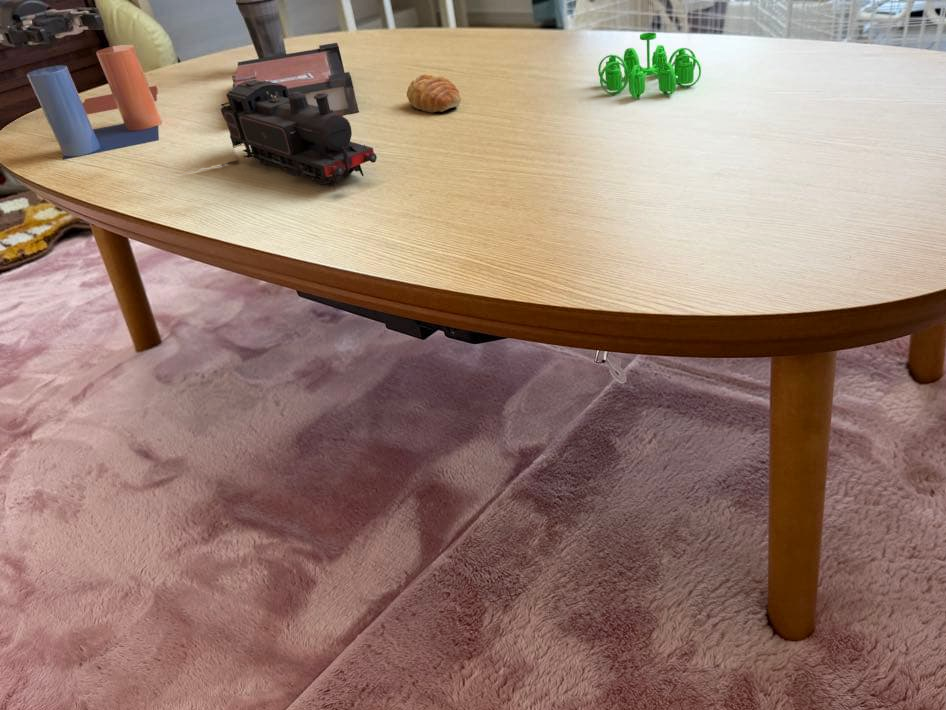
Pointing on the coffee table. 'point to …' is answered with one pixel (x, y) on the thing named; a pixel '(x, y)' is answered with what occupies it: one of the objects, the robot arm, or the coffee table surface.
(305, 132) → the toy train
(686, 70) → the chandelier
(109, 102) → the terracotta mat
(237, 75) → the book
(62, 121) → the tall blue cylinder
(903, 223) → the coffee table surface
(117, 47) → the tall orange cylinder
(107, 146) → the blue mat
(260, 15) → the beverage cup
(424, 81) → the pastry
